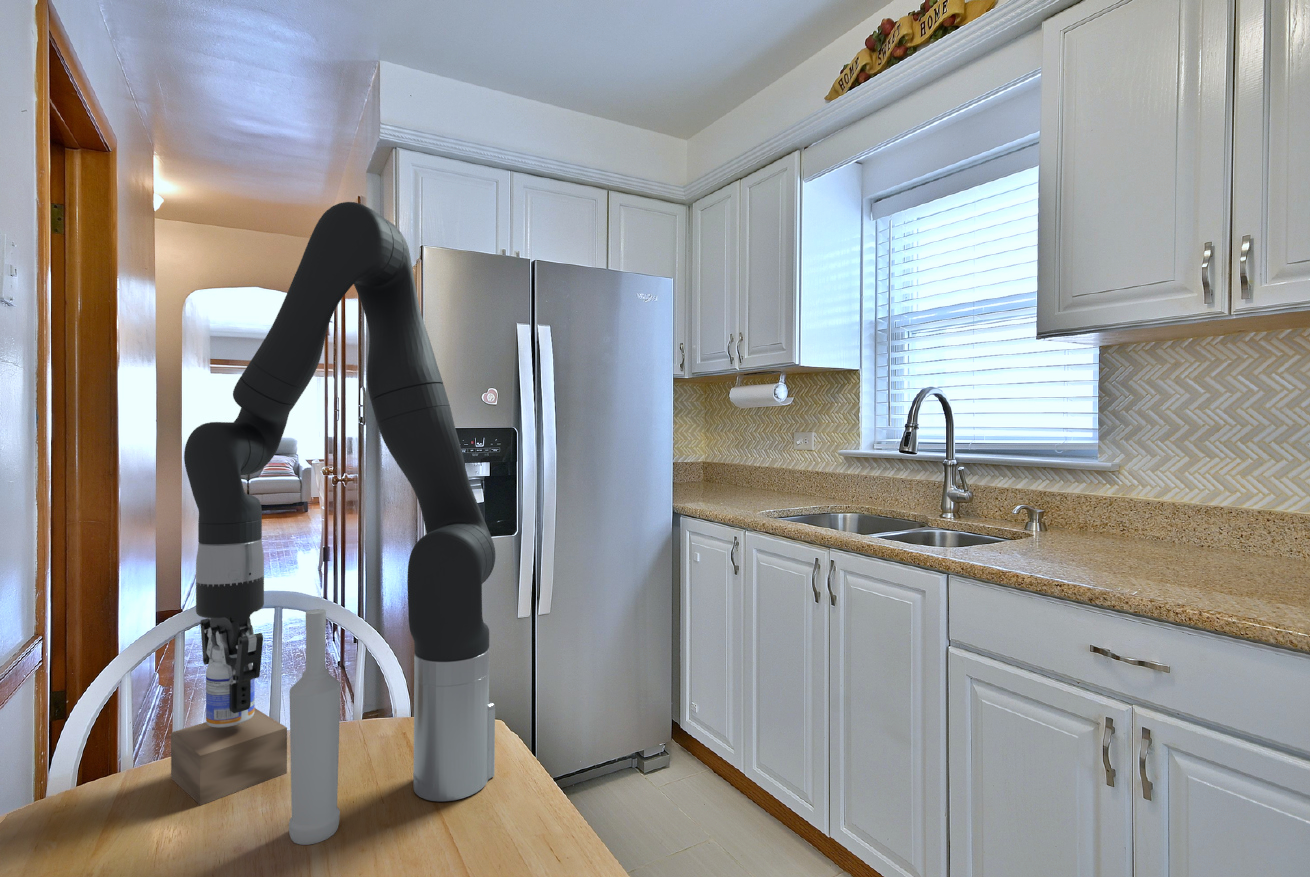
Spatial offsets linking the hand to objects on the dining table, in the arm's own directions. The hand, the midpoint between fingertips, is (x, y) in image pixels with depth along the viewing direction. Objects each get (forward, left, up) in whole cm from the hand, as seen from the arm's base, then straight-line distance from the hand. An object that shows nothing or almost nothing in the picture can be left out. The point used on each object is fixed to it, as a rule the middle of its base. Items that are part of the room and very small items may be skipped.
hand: (230, 704), depth 89 cm
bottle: (-1, +21, -10) cm, 23 cm away
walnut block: (0, 0, -9) cm, 9 cm away
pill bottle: (0, 0, -2) cm, 2 cm away
